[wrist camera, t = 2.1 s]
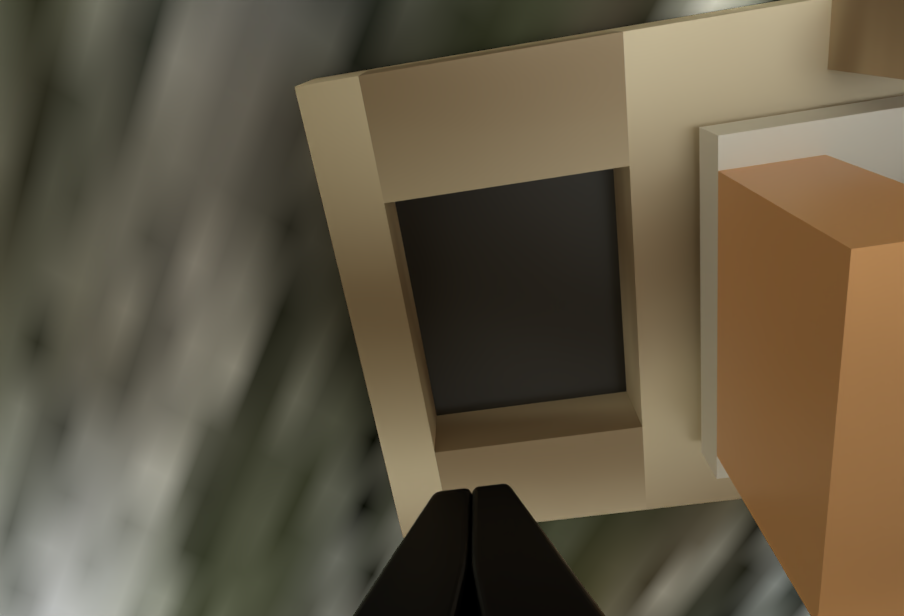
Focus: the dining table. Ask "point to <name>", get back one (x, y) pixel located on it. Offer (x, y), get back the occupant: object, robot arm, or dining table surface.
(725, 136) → the sled
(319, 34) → the dining table surface
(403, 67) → the deck
